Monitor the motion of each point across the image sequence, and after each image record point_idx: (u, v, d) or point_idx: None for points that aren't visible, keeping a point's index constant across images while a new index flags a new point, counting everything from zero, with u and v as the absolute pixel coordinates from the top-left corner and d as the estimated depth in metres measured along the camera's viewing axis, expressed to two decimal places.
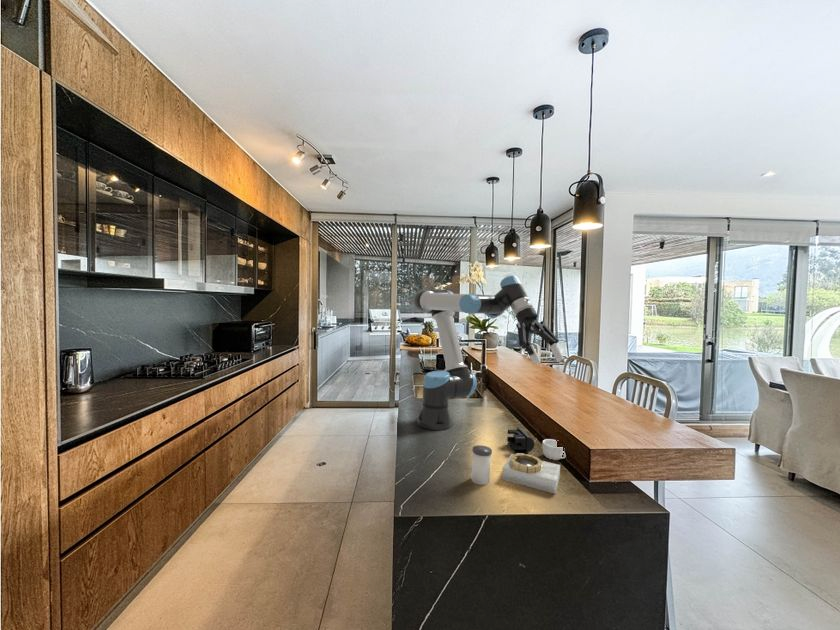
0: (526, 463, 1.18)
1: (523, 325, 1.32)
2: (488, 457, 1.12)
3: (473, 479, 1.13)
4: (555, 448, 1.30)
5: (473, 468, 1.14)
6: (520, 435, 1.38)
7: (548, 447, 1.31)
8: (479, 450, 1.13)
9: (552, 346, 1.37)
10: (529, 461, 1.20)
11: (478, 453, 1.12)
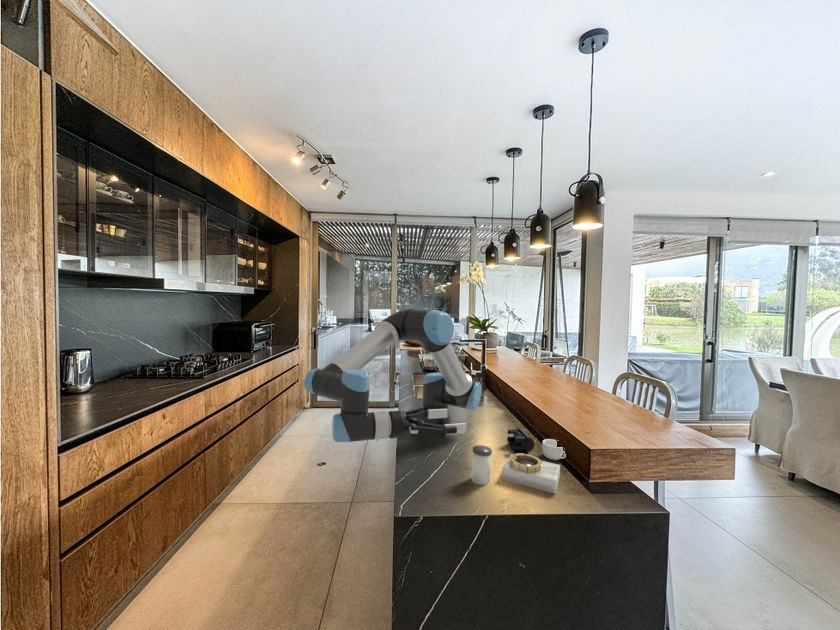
0: (526, 463, 1.18)
1: None
2: (488, 457, 1.12)
3: (473, 479, 1.13)
4: (555, 448, 1.30)
5: (473, 468, 1.14)
6: (520, 435, 1.38)
7: (548, 447, 1.31)
8: (479, 450, 1.13)
9: None
10: (529, 461, 1.20)
11: (478, 453, 1.12)
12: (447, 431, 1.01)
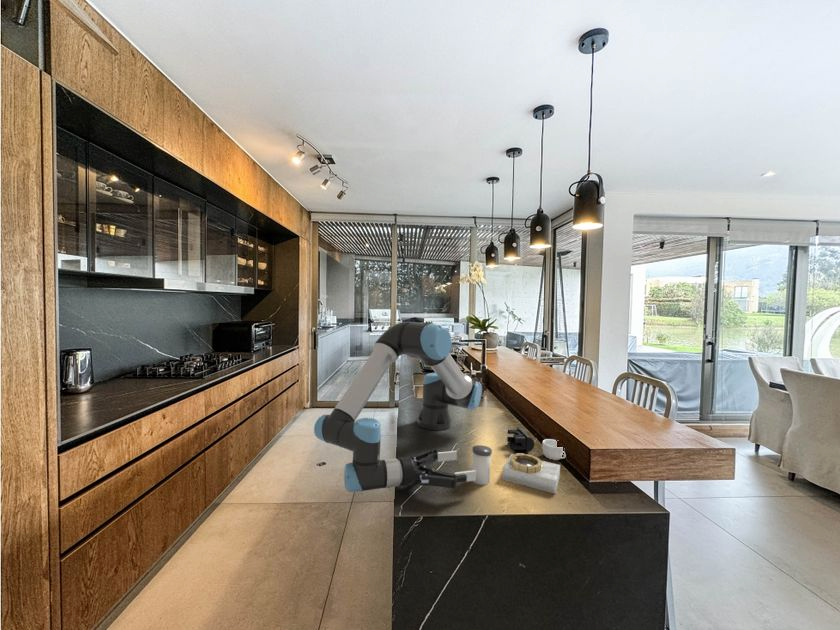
0: (526, 463, 1.18)
1: None
2: (488, 457, 1.12)
3: None
4: (555, 448, 1.30)
5: (473, 468, 1.14)
6: (520, 435, 1.38)
7: (548, 447, 1.31)
8: (479, 450, 1.13)
9: None
10: (529, 461, 1.20)
11: (478, 453, 1.12)
12: (457, 480, 1.02)
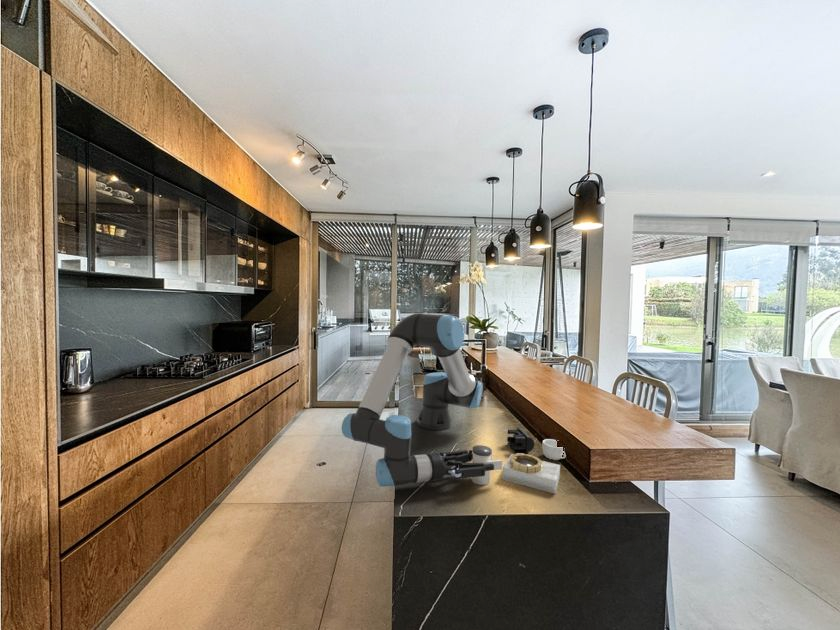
0: (526, 463, 1.18)
1: None
2: (488, 457, 1.12)
3: (473, 479, 1.13)
4: (555, 448, 1.30)
5: None
6: (520, 435, 1.38)
7: (548, 447, 1.31)
8: (479, 450, 1.13)
9: None
10: (529, 461, 1.20)
11: (478, 453, 1.12)
12: (485, 468, 1.10)
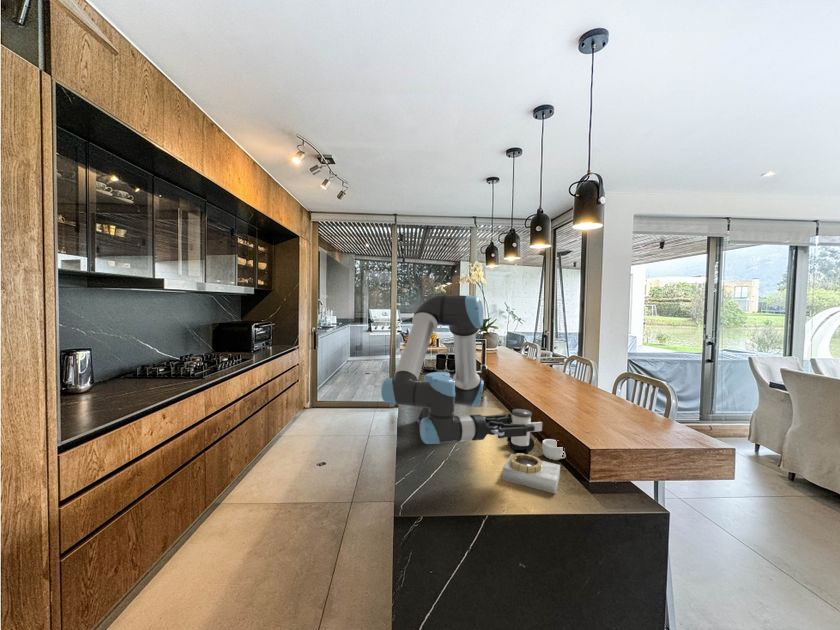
0: (526, 463, 1.18)
1: None
2: (528, 419, 1.14)
3: (513, 441, 1.15)
4: (555, 448, 1.30)
5: None
6: None
7: (548, 447, 1.31)
8: (519, 412, 1.15)
9: None
10: (529, 461, 1.20)
11: (519, 415, 1.14)
12: (526, 429, 1.11)
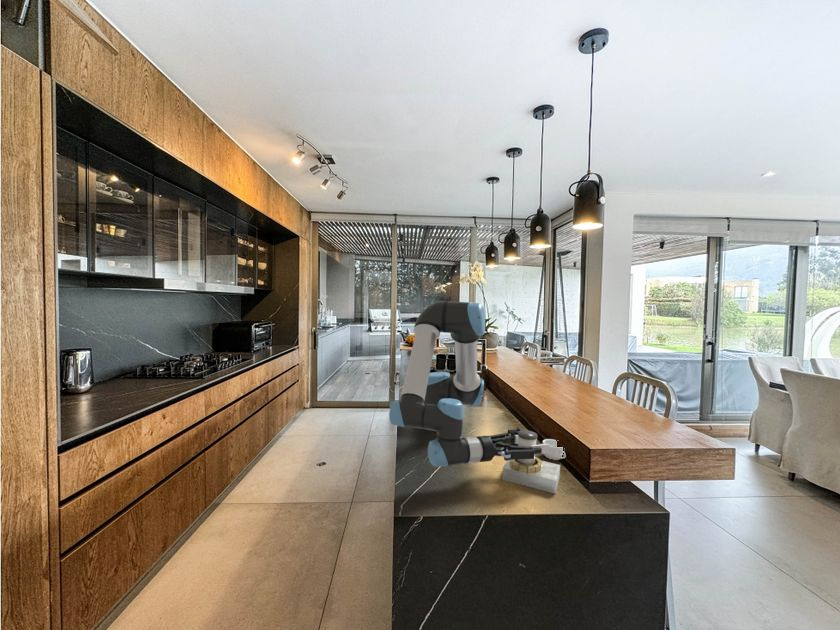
0: None
1: None
2: (534, 441, 1.15)
3: (519, 462, 1.17)
4: (555, 448, 1.30)
5: None
6: None
7: None
8: (525, 434, 1.17)
9: None
10: None
11: (525, 437, 1.15)
12: None
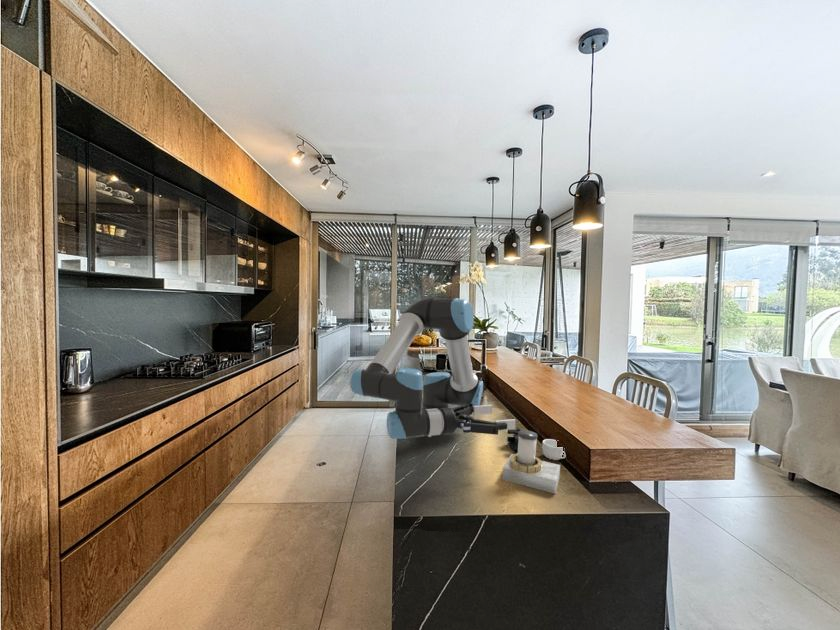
0: None
1: None
2: (534, 441, 1.16)
3: (519, 462, 1.17)
4: (555, 448, 1.30)
5: (519, 452, 1.17)
6: None
7: (548, 447, 1.31)
8: (525, 434, 1.17)
9: None
10: None
11: (525, 437, 1.15)
12: (498, 427, 1.04)
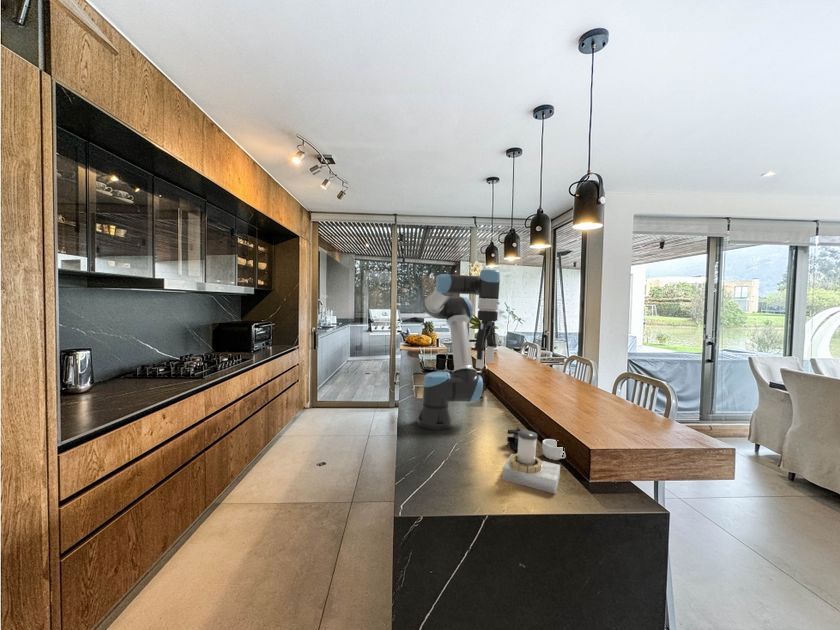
0: None
1: (485, 329, 1.33)
2: (534, 441, 1.16)
3: (519, 462, 1.17)
4: (555, 448, 1.30)
5: (519, 452, 1.17)
6: None
7: (548, 447, 1.31)
8: (525, 434, 1.17)
9: (489, 348, 1.46)
10: None
11: (525, 437, 1.15)
12: None
